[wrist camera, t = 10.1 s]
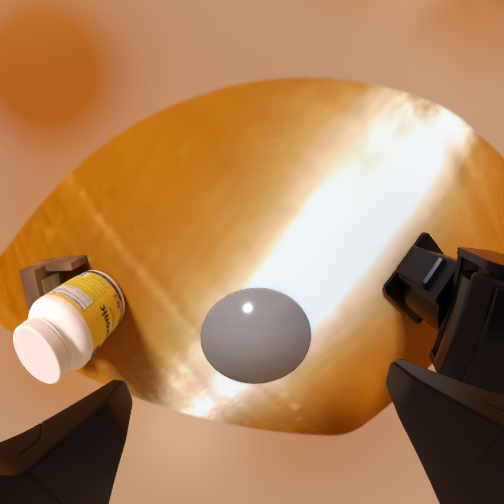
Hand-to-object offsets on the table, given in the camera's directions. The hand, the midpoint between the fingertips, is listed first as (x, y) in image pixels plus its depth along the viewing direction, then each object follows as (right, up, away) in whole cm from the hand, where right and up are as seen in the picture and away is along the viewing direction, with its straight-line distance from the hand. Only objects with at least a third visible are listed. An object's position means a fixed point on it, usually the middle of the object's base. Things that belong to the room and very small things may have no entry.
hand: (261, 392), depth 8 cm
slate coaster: (0, -3, +14) cm, 14 cm away
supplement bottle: (-13, 0, +13) cm, 18 cm away
